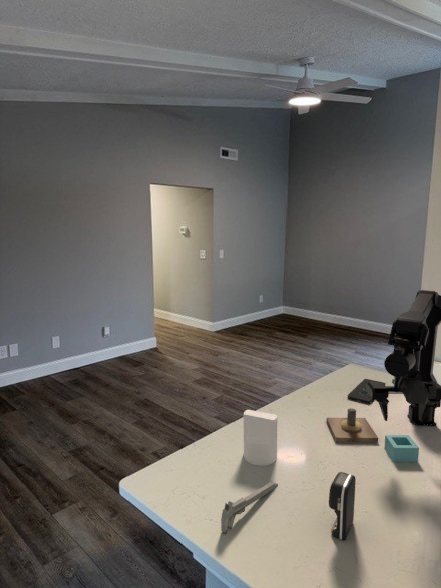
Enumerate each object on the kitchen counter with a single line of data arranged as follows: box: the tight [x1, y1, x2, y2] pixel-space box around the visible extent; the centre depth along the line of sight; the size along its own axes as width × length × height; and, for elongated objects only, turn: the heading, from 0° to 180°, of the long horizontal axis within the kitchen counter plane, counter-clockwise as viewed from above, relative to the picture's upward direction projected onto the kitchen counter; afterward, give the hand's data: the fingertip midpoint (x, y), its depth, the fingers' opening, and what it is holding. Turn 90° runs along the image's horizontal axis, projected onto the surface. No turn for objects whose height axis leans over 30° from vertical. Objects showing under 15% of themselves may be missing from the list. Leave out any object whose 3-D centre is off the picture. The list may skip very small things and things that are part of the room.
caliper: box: [220, 481, 279, 535], centre depth 89 cm, size 20×1×6 cm, turn 140°
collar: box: [384, 434, 420, 463], centre depth 108 cm, size 6×6×4 cm
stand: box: [325, 407, 379, 444], centre depth 120 cm, size 12×12×7 cm
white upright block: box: [243, 409, 278, 466], centre depth 108 cm, size 9×9×12 cm
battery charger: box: [328, 471, 356, 541], centre depth 82 cm, size 7×4×11 cm, turn 147°
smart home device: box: [347, 378, 386, 405], centre depth 149 cm, size 8×2×20 cm
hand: (403, 420), depth 107 cm, fingers open, 9 cm apart
